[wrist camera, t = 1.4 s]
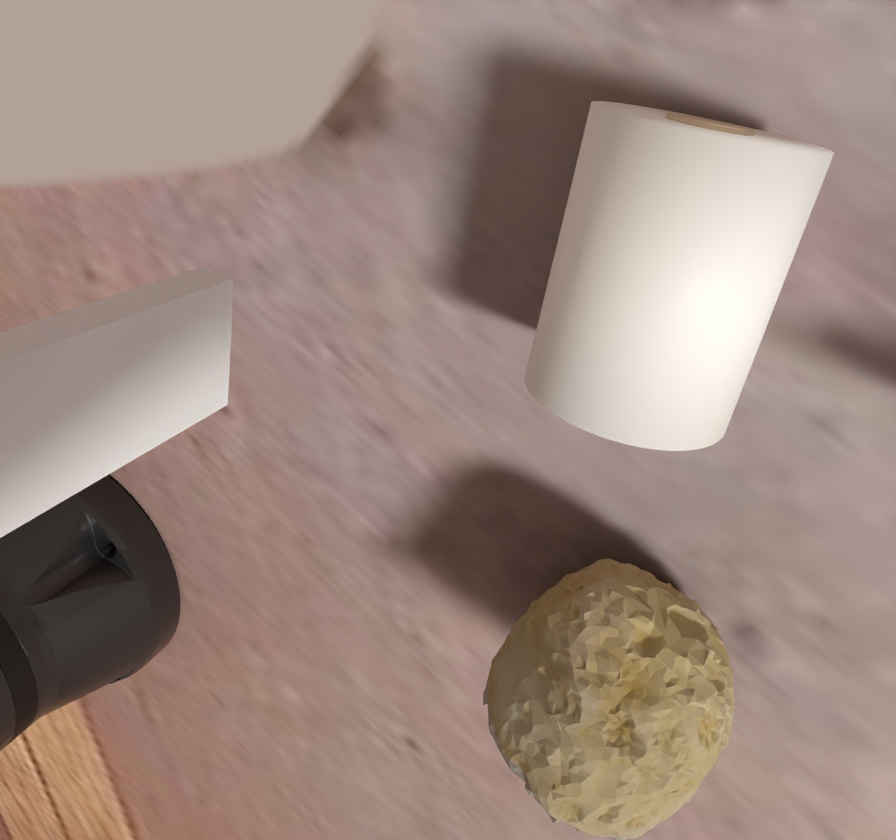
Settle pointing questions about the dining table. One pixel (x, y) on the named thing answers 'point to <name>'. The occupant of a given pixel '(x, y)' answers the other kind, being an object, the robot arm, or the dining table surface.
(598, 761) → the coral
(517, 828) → the dining table surface
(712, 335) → the roll
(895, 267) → the dining table surface
